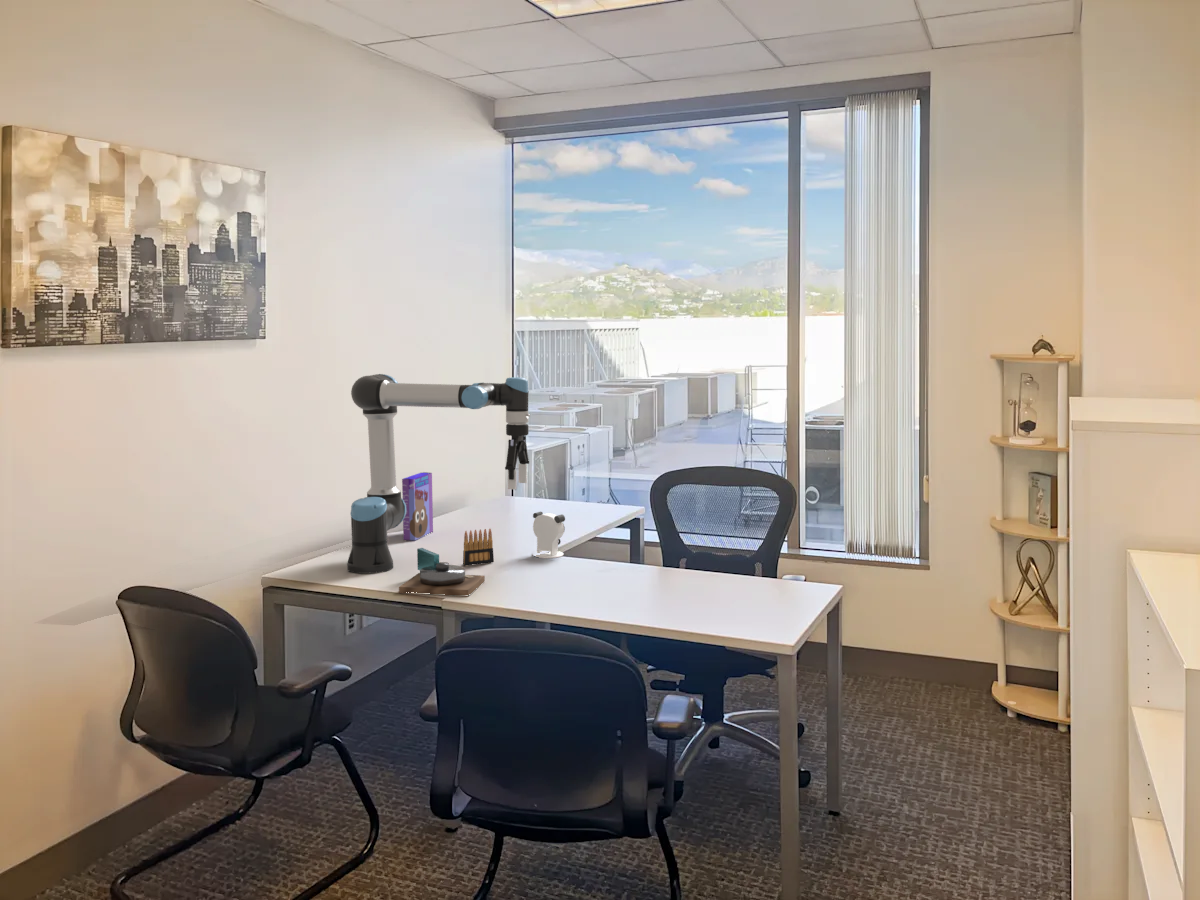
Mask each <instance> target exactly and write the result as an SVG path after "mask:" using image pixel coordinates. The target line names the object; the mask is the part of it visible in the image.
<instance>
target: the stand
mask: <svg viewBox="0 0 1200 900" xmlns="http://www.w3.org/2000/svg"><path fill="white" fill-rule="evenodd" d="M485 577H486V575H478V574H477V575H475V574H465V580H464V581H462V582H459V583H455V584H449V585H431V584H425V583H422V582H421V581H420V572H417V574H415V575H414V576H411V578H409V579H408V580H407V581H405V582H404V583H403V584H401V585H400V586H399V587H398V593H399V594H404V593H406V592H407V593H408V592H409V593H411V592H414V593H416V592H417V593H430V594H445V595H444V596H447V595H469V594H471V593H472V592H473V591H474V590H475V589H476V588H477V589H478V588H479V586H480V585H481V584H482V583H483V582H484V581H485V582H486V578H485ZM485 582H484V583H485ZM484 583H483V584H484ZM483 584H482V585H483ZM482 585H481V586H482ZM481 586H480V587H481ZM477 589H476V590H477ZM476 590H475V591H476ZM475 591H474V592H475ZM474 592H473V593H474ZM473 593H472V594H473ZM472 594H471V595H472Z"/></svg>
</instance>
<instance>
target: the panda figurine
mask: <svg viewBox="0 0 1200 900" xmlns="http://www.w3.org/2000/svg"><path fill="white" fill-rule="evenodd" d="M532 517H533V519H534V520H533V523H532V530H533V534H534V535H535V537H536V543H537V544H536V552H537V553H540V552H542V551H550V552H549V553H545V554H540V555H536V557H539V558H538V559H557V558H561V557H563V556H564V552H562V551H558V549H559V545H560V544H561V538H562V537H563V535H564V533H565V529H566V527H565V524H564V522H565V521H566V516H565V515H564V514H554V513H550V512H549V513H543V511H537V512H535V513H533V514H532ZM536 557H535V558H536Z"/></svg>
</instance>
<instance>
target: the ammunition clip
mask: <svg viewBox="0 0 1200 900" xmlns="http://www.w3.org/2000/svg"><path fill="white" fill-rule="evenodd" d="M463 536H464V537H463V551H462V552H463V556H462V559H463V560H462V565H463V564H464V565H463V566H465V565H468V566H473V565H472V564H476V565H482V564H481V563H485V564H492V563H491V562H495V561H494V560H495V559H494V558H495V557H494V556H495V555H494V548H493V547H494V545H493V533H492V528H489V529H488V533H487V529H486V528H484V530H483V533H482V529H479V531H478V532H477V529H475V530H474V531H473V532H472V530H471V529H470V530H469V535H468V532H467V530H465V531H464V535H463Z"/></svg>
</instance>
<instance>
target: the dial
mask: <svg viewBox="0 0 1200 900" xmlns="http://www.w3.org/2000/svg"><path fill="white" fill-rule="evenodd" d="M416 553H417V555H416V556H417V570H418V571H419V573H420V581H421V582H422V583H425V584H431V585H449V584H455V583H459V582H462V581H464V580H465V575H466V568H465V567H463V566H461V565H454V564H450V563H449V562H447V561H445V562H444V561H443V562H441V561H440V554H438V553H435V552H434V551H431V550H429V549H427V548H424V547H419V548H417V552H416Z"/></svg>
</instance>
